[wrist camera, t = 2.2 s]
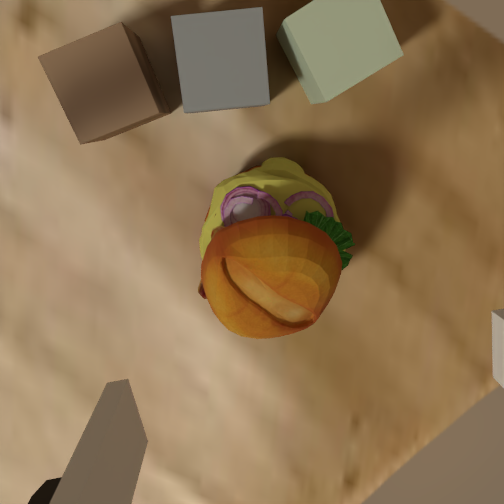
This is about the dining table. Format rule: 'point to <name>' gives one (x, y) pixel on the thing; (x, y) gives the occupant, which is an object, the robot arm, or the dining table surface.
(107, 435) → the robot arm
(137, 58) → the walnut block
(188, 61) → the slate block
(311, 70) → the sage block
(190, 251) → the dining table surface
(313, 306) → the cheeseburger
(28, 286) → the dining table surface
